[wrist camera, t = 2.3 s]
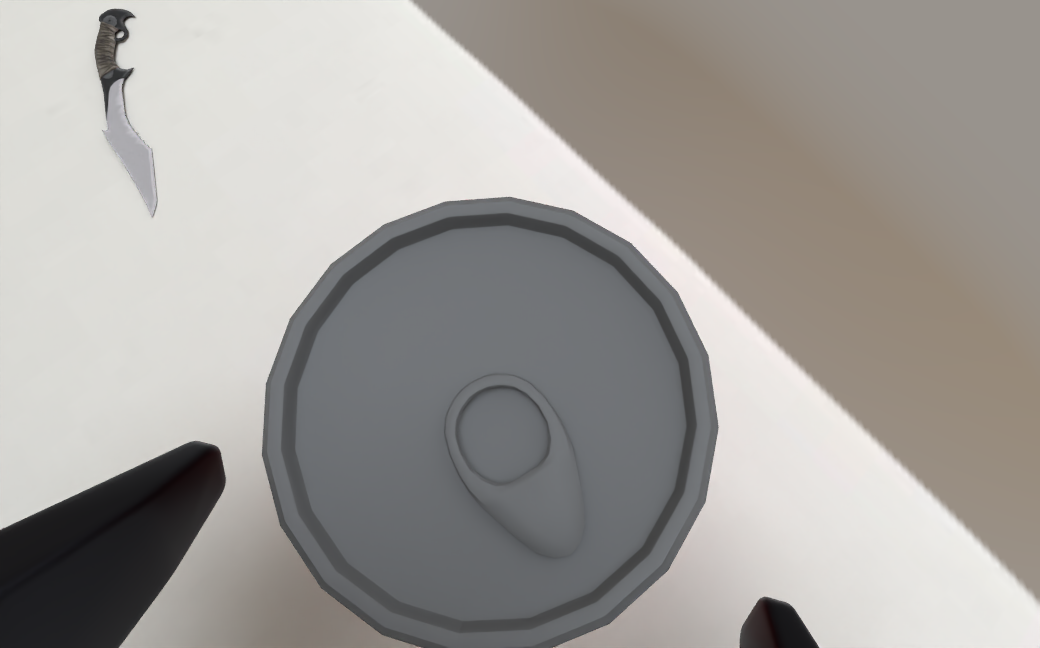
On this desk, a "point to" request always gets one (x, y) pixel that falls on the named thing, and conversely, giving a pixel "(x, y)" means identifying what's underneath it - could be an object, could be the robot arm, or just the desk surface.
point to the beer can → (489, 426)
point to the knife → (122, 108)
